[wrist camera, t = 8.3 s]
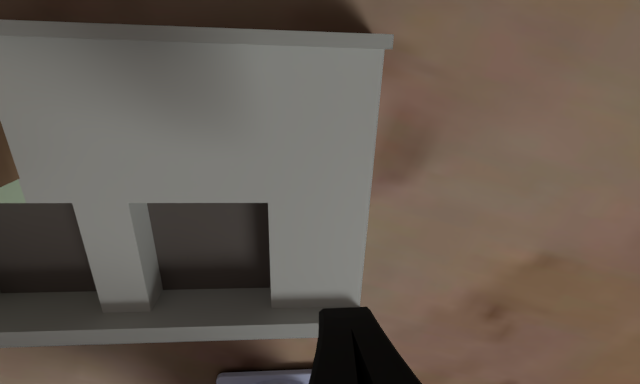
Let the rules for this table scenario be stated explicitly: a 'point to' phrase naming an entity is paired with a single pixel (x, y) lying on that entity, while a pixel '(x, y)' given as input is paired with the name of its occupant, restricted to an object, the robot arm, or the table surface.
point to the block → (6, 161)
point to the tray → (182, 180)
